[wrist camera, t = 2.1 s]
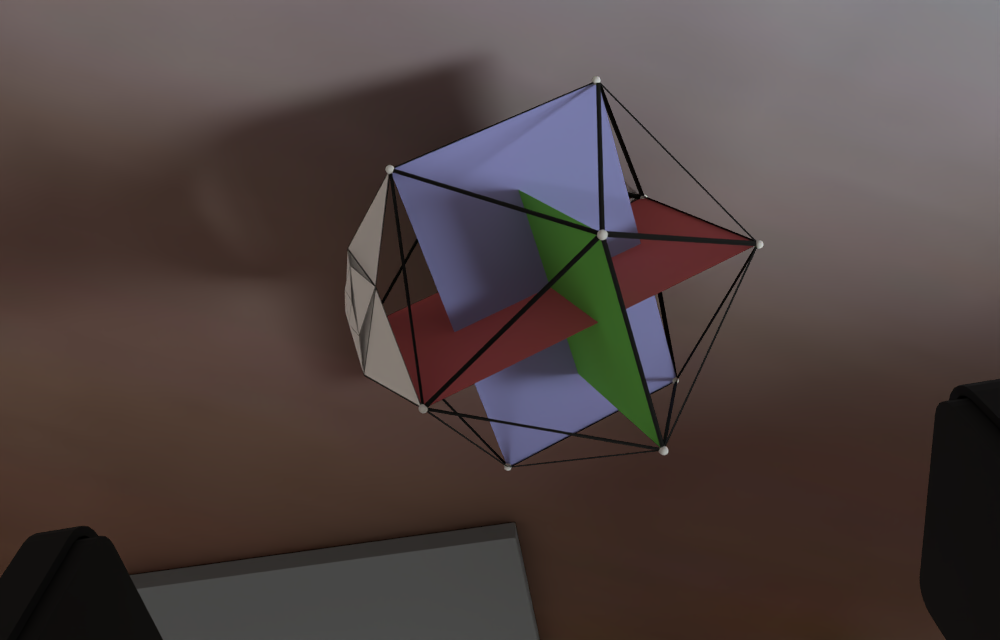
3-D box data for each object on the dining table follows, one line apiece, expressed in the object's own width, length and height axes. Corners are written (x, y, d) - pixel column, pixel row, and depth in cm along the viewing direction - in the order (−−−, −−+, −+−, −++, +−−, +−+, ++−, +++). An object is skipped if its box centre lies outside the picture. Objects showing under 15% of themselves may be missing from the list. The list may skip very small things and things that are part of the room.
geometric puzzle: (777, 13, 15) (533, 219, 10) (828, 334, 18) (661, 617, 13) (477, 68, 19) (206, 226, 14) (557, 315, 22) (357, 518, 17)
